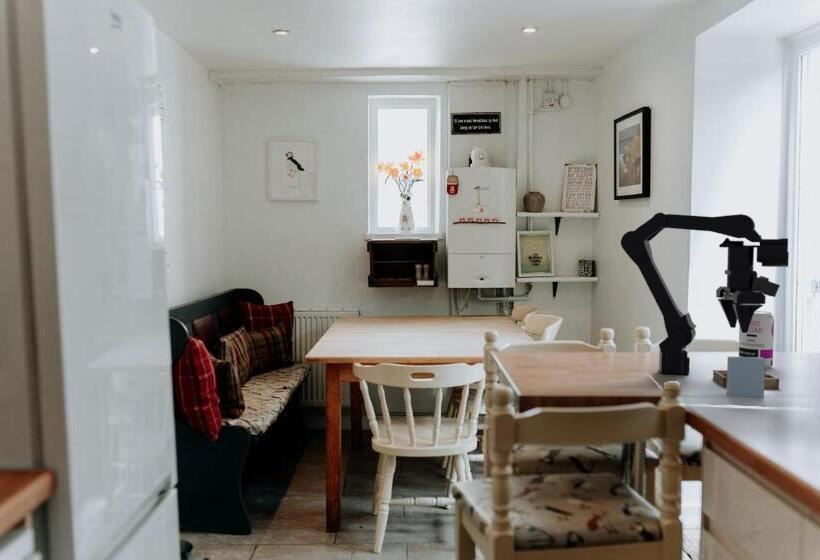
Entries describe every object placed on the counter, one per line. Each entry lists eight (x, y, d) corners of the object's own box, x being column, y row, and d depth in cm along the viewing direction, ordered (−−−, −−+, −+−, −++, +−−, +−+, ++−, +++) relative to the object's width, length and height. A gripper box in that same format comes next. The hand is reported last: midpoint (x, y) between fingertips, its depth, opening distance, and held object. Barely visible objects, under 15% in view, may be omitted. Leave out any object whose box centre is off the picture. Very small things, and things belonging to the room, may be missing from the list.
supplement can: (768, 365, 186) (769, 311, 185) (775, 371, 178) (777, 314, 177) (735, 363, 188) (737, 310, 187) (741, 369, 180) (743, 313, 179)
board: (729, 398, 148) (730, 358, 147) (726, 396, 150) (727, 356, 149) (763, 400, 147) (765, 359, 146) (760, 397, 149) (761, 357, 148)
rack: (724, 390, 155) (725, 378, 155) (712, 380, 166) (712, 369, 166) (781, 392, 153) (781, 380, 153) (764, 382, 164) (765, 370, 164)
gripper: (790, 268, 154) (788, 336, 155) (762, 264, 172) (761, 325, 173) (738, 268, 156) (736, 335, 157) (716, 264, 174) (714, 325, 175)
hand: (738, 330), depth 165 cm, fingers open, 9 cm apart
